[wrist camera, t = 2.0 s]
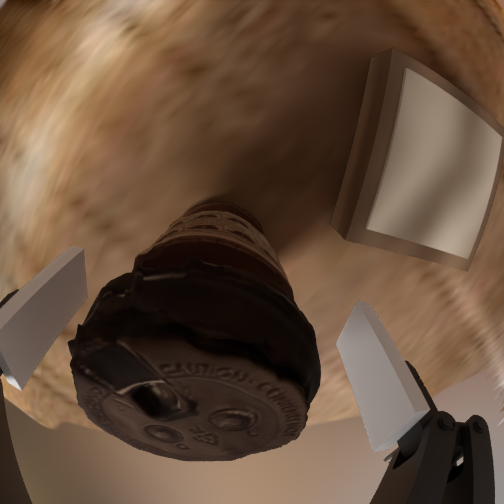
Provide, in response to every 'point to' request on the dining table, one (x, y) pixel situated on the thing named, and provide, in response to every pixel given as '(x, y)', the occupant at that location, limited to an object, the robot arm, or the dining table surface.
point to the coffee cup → (199, 345)
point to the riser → (419, 165)
